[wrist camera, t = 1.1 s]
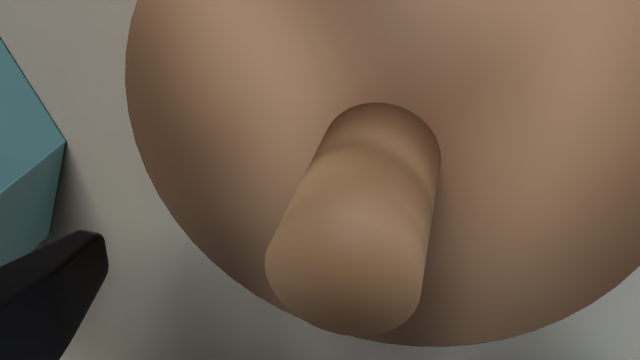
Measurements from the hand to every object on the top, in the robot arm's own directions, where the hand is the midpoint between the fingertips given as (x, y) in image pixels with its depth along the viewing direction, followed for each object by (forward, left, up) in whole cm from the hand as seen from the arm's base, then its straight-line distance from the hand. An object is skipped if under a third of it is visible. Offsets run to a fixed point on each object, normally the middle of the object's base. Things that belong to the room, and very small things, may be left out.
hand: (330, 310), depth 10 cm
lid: (0, 0, -6) cm, 6 cm away
